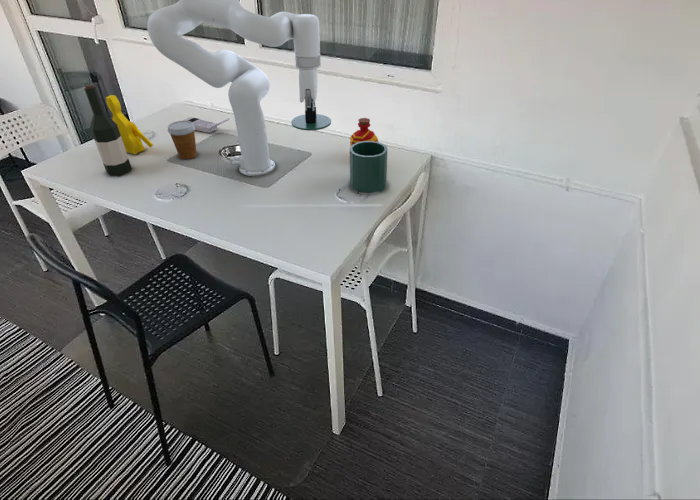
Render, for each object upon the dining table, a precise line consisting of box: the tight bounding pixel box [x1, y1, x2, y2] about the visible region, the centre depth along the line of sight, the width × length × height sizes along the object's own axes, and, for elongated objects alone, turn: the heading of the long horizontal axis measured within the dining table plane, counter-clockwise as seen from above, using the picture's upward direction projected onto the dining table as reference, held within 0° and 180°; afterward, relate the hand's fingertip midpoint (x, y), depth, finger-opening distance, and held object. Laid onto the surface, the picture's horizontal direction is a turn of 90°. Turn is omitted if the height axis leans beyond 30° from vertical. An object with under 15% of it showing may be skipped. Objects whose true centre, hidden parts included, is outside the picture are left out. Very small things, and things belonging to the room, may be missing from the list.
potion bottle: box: [349, 117, 379, 147], centre depth 160 cm, size 10×10×15 cm
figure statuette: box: [105, 94, 154, 155], centre depth 167 cm, size 18×8×22 cm, turn 66°
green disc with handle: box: [291, 113, 332, 132], centre depth 145 cm, size 13×13×7 cm
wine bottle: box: [83, 83, 133, 177], centre depth 152 cm, size 8×8×30 cm
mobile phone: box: [182, 117, 230, 134], centre depth 188 cm, size 6×6×25 cm
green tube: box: [349, 141, 388, 194], centre depth 146 cm, size 12×12×13 cm
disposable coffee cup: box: [167, 120, 198, 160], centre depth 166 cm, size 10×10×12 cm
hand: (311, 120), depth 146 cm, fingers closed on green disc with handle, 2 cm apart
